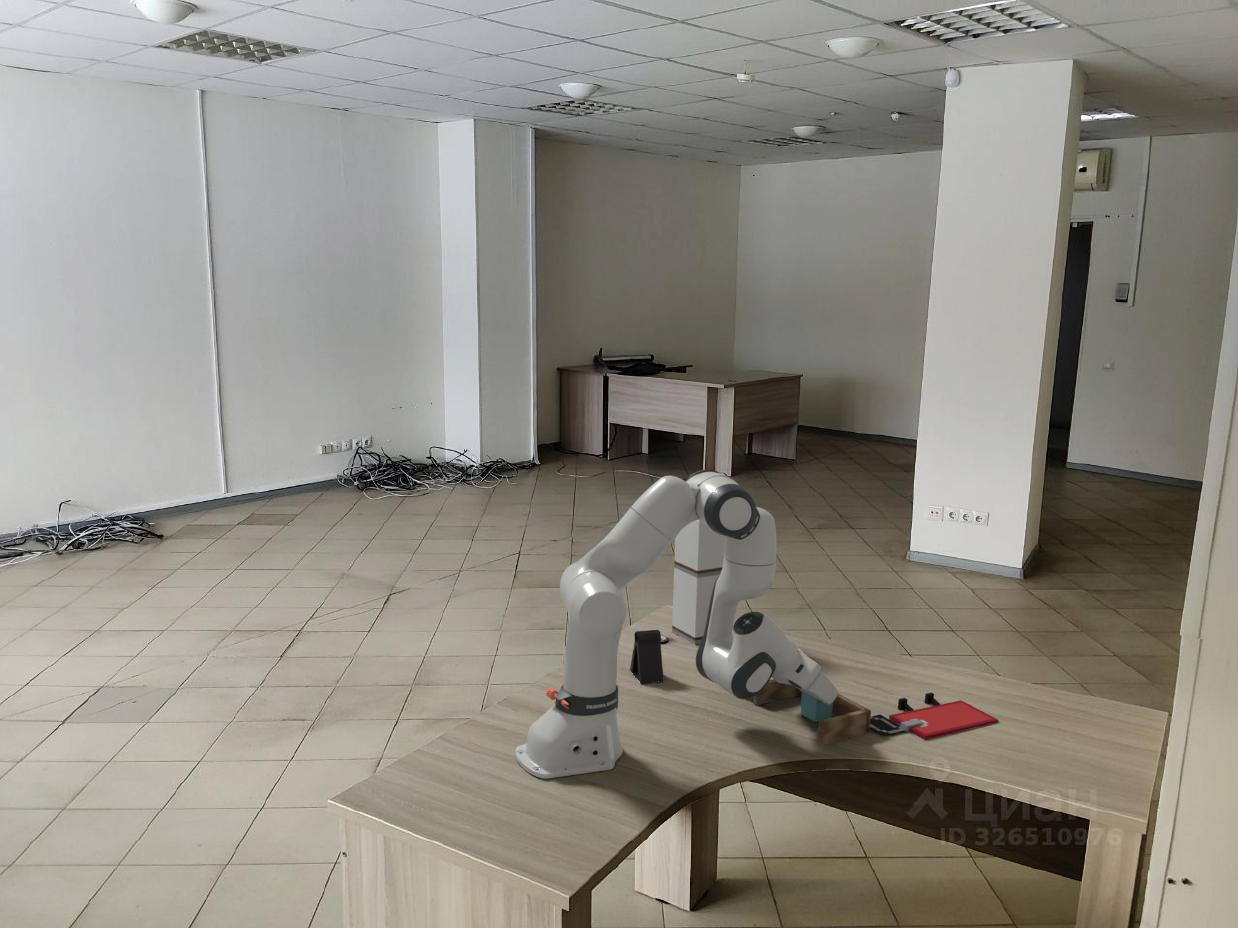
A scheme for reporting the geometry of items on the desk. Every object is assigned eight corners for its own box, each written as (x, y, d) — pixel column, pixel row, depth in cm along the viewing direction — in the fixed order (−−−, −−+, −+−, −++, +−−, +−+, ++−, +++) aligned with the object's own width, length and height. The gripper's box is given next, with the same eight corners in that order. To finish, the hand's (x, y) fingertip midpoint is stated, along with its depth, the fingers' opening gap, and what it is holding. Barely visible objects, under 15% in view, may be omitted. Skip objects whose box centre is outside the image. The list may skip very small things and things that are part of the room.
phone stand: (629, 670, 245) (631, 626, 243) (652, 668, 247) (653, 624, 245) (640, 684, 237) (642, 638, 235) (663, 682, 239) (665, 636, 237)
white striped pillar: (725, 638, 270) (731, 517, 264) (694, 644, 265) (699, 521, 259) (702, 626, 280) (707, 509, 274) (672, 632, 275) (676, 512, 269)
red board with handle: (852, 719, 220) (898, 748, 207) (853, 707, 220) (899, 735, 206) (948, 699, 234) (997, 725, 220) (950, 688, 233) (999, 713, 220)
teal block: (815, 721, 218) (817, 688, 217) (800, 713, 222) (802, 680, 221) (831, 717, 220) (833, 684, 219) (817, 709, 225) (819, 676, 223)
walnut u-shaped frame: (821, 744, 207) (822, 723, 206) (753, 703, 227) (754, 683, 226) (869, 731, 214) (871, 710, 213) (798, 692, 234) (799, 673, 233)
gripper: (748, 658, 222) (779, 690, 229) (806, 689, 205) (838, 723, 211) (764, 636, 223) (794, 669, 230) (823, 666, 206) (855, 700, 212)
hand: (816, 695), depth 220 cm, fingers closed on teal block, 5 cm apart
